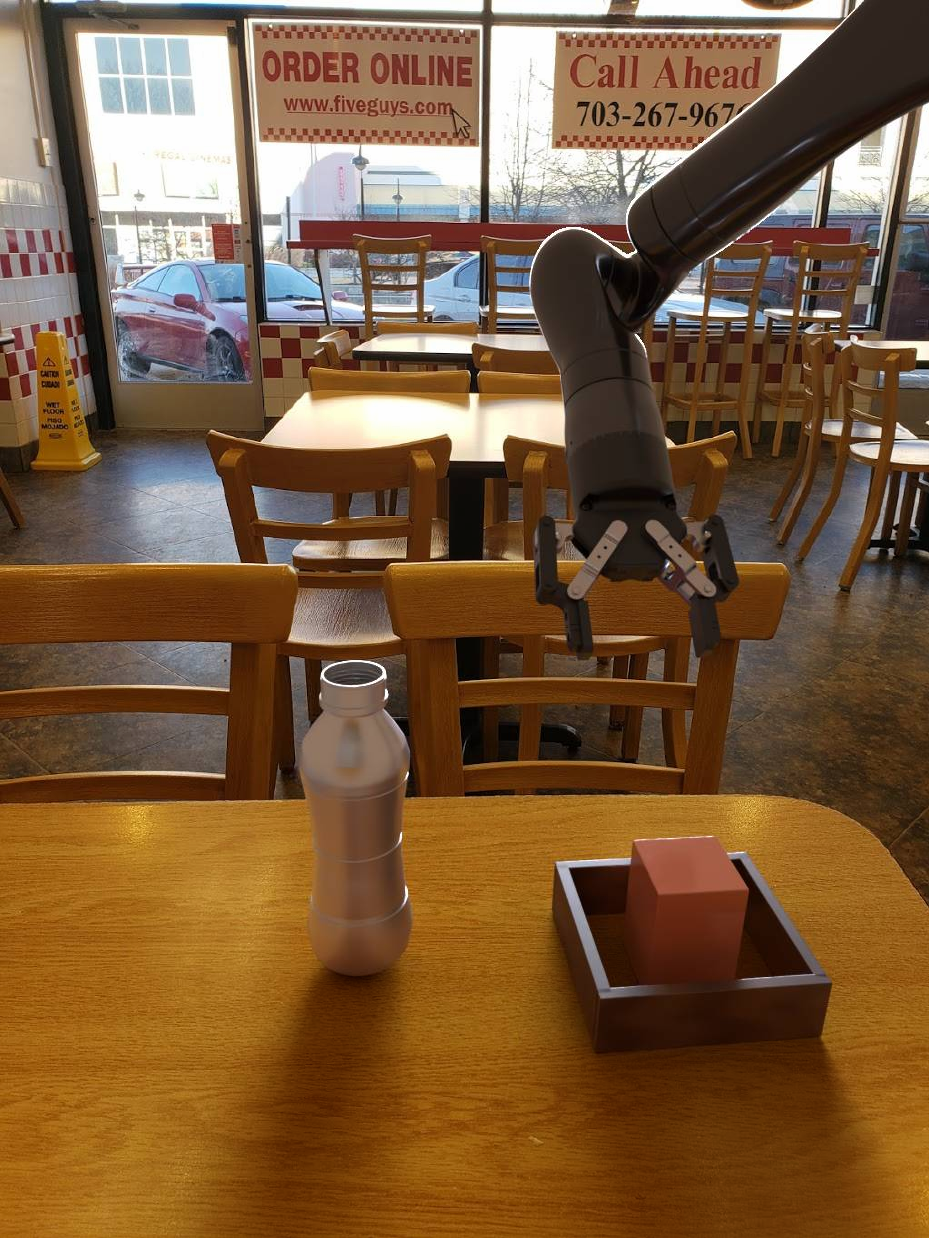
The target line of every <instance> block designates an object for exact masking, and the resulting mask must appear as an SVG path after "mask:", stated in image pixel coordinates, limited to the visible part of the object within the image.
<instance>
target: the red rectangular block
mask: <svg viewBox="0 0 929 1238" xmlns="http://www.w3.org/2000/svg"><path fill="white" fill-rule="evenodd" d="M727 853H728V852H726V850H725V849H724V847H723V845H722V843H721V842H720V841H719V839H718V837H717V836H715V835H708V836H689V837H688V836H687V837H669V838H668V837H667V838H649V839H648V838H647V839H646V838H645V839H632V844H631V853H630V858H631V862H630V872H629V882H628V891H627V901H626V911H625V913H624V920H623V930H622V931H623V932H622V940H621V941H622V943H623V947H624V950H625V951H626V954H627V957H628V959H629V962H630V964H631V967H632V969H633V972H634V975H635V977H636V979H637V981H638V986H648V985H663V984H678V983H693V982H707V981H722V980H736V974H737V968H738V962H739V956H740V949H741V942H742V937H743V932H744V931H743V930H744V919H745V913H746V906H747V900H748V894H749V889H748V887H747V886H746V884H745V883H744V881H743V879H742V878H741V876H740V874H739V873H738V871H737V870H736V868H735V866H734V865H733V863H732V862H731V860H730V858H729V857H728V855H727Z"/></svg>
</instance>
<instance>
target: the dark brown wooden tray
mask: <svg viewBox="0 0 929 1238" xmlns="http://www.w3.org/2000/svg"><path fill="white" fill-rule="evenodd" d="M726 853H727V855H728V857H729V858H730V860H731V862H732V863H733V865H734V866H735V868H736V870H737V871H738V873H739V874H740V876H741V878H742V879H743V881H744V883H745V884H746V886H747V887H748V889H749V894H748V900H747V906H746V913H745V919H744V925H743V927H744V928H745V930H746V931H747V933H748V935H749V936H750V938H751V939H752V941H753V943H754V945H755V947H756V949H757V950H758V951H759V953H760V956H761V957H762V959H763V960H764V962H765V964H766V966H767V967H768V969H769V971H770V972H771V974H772V976H769V977H754V978H753V977H752V978H740V979H739V978H737V979H735V980H722V981H707V982H693V983H678V984H663V985H648V986H640V985H635V986H633V985H632V986H620V987H611V985H610V982H609V980H608V977H607V974H606V971H605V967H604V966H603V963H602V960H601V957H600V954H599V950H598V948H597V944H596V943H595V939H594V936H593V934H592V931H591V928H590V925H589V923H588V920H587V916H588V915H590V916H591V915H606V914H607V915H608V914H623V913H624V914H625V911H626V901H627V891H628V882H629V872H630V862H631V857H627V858H608V859H607V858H605V859H587V860H568V861H555V862H554V870H553V882H552V883H553V884H552V897H551V898H552V900H551V912H552V916H553V918H554V919H553V920H554V923H555V925H556V929H557V932H558V935H559V938H560V942H561V945H562V949H563V951H564V952H563V953H564V956H565V958H566V961H567V965H568V968H569V971H570V975H571V978H572V981H573V985H574V988H575V991H576V995H577V998H578V1001H579V1004H580V1008H581V1011H582V1014H583V1017H584V1021H585V1025H586V1027H587V1031H588V1034H589V1037H590V1040H591V1044H592V1047H593V1051H594V1053H595V1054H604V1053H619V1052H633V1051H644V1050H645V1051H646V1050H655V1049H656V1050H658V1049H671V1048H672V1049H673V1048H683V1047H685V1048H686V1047H698V1046H699V1047H700V1046H709V1045H710V1046H713V1045H724V1044H738V1043H751V1042H752V1043H753V1042H764V1041H765V1042H766V1041H777V1040H792V1039H805V1038H813V1037H814V1038H817V1037H822V1036H823V1035H822V1034H823V1030H824V1025H825V1021H826V1016H827V1011H828V1006H829V1001H830V997H831V991H832V987H833V981H832V980H831V979H830V977H829V976H828V974H827V973H826V971H825V970H824V969H823V966H822V965H821V964H820V962H819V961H818V959H817V958H816V957H815V954H814V953H813V951H812V950H811V949H810V947H809V945H808V944H807V942H806V941H805V939H804V938H803V936H802V934H801V933H800V932H799V930H798V929H797V927H796V925H795V923H794V922H793V921H792V920H791V919H792V918H790V916H789V914H788V913H787V912H786V910H785V908H784V907H783V906H782V904H781V902H780V901H779V899H778V897H777V896H776V895H775V893H774V892H773V891H772V889H771V887H770V886H769V884H768V883H767V881H766V880H765V878H764V876H763V875H762V873H761V872H760V871H759V869H758V867H757V866H756V864H755V863H754V860H753V859H752V858H751V856H750V854H749V853H748V852H747V851H741V852H740V851H739V852H726Z"/></svg>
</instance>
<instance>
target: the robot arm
mask: <svg viewBox="0 0 929 1238" xmlns="http://www.w3.org/2000/svg"><path fill="white" fill-rule="evenodd" d="M927 104H929V0H862V1H861V2H860V3H859V4H858V5H857V6H856V7H855V8H854V9H853V10H852V11H851V13H849V15H848V16H847V17H846V18H845V19H844V20H843V21H842V22H841V23H840V24H839V25H837V27H836V28H835V29H834V30H833V31H831V33H829V35H828V36H827V37H825V39H824V40H822V42H820V43H819V44H818V45H817V46H816V47H815V48H814V49H813V50H812V51H811V52H810V53H809V54H808V55H807V56H806V57H805V58H804V59H803V60H802V61H800V62H799V63H798V64H797V65H796V66H795V67H794V68H793V69H792V70H791V71H790V72H789V73H787V74H786V75H785V76H784V77H783V78H782V79H780V81H778V82H777V83H776V84H774V85H773V87H771V88H770V89H769V90H768V91H767V92H765V93H763V95H761V96H760V97H759V98H758V99H757V100H755V101H754V102H753V103H751V105H749V106H748V107H746V108H745V109H744V110H742V112H740V113H739V114H737V115H736V116H735V117H734V118H733V119H731V120H730V121H729V122H728V123H726V124H725V125H723V126H722V127H721V128H720V129H718V130H717V131H716V132H714V133H713V134H712V135H711V136H710V137H708V138H707V139H706V140H704V141H703V142H702V143H700V144H699V145H698V146H697V147H695V148H694V149H693V150H691V151H690V152H689V153H688V154H686V155H685V156H684V157H682V159H679V161H678V162H676V163H675V164H674V165H673V166H671V167H670V168H669V169H668V170H667V171H665V172H664V173H662V174H661V175H660V176H659V177H658V178H656V179H655V180H654V181H653V182H652V183H650V184H648V186H647V187H645V188H644V189H642V191H641V192H640V193H639V194H637V195H636V197H635V198H634V199H633V200H632V201H631V203H630V205H629V207H628V209H627V213H626V219H625V221H626V230H627V234H628V237H629V240H630V242H631V244H632V246H633V248H634V249H635V251H634V252H631V253H629V254H626V253H625V252H622V250H620V249H619V248H617V247H615V246H613V245H612V244H611V243H609V242H608V241H606V240H604V239H603V238H601V237H600V236H599V235H597V234H596V233H594V232H592V231H591V230H588V229H584V228H581V227H566V228H562V229H559V230H557V231H555V232H554V233H552V234H551V235H550V236H548V237H547V238H546V239H545V240H544V241H543V242H542V243H541V245H540V247H539V249H538V250H537V252H536V254H535V256H534V258H533V260H532V264H531V269H530V275H529V296H530V301H531V305H532V310H533V312H534V316H535V318H536V321H537V324H538V326H539V328H540V331H541V333H542V335H543V338H544V340H545V343H546V345H547V348H548V350H549V353H550V354H551V357H552V359H553V361H554V363H555V364H556V366H557V369H558V372H559V377H560V380H559V381H560V389H561V397H562V405H563V412H564V431H563V435H564V447H565V448H564V458H565V462H566V464H567V470H568V479H569V486H570V487H569V488H570V495H571V504H572V510H573V519H574V520H573V523H566V522H565V523H563V522H556V521H555V518H554V517H552V516H551V515H542V516H540V518H539V519H538V522H537V524H536V528H535V530H534V533H533V536H532V544H533V547H532V548H533V573H534V576H533V577H534V600H535V601H536V603H537V604H539V605H541V606H548V605H551V606H555V607H557V608H558V609H560V610H561V612H562V614H563V623H564V631H565V638H566V639H565V640H566V647H567V648H568V651H569V652H570V653H576V659H577V661H589V660H590V658H591V657H592V655H593V653H594V639H593V631H592V622H591V615H590V608H589V607H590V606H589V600H585V598H586V597H587V595H588V594H589V593H590V591H591V590H592V589H593V587H594V585H595V584H596V582H597V581H598V580H599V578H600V577H601V576H602V577H603V578H605V579H608V580H609V582H610V583H622V582H626V581H629V580H632V581H636V582H641V583H643V582H644V583H646V582H647V583H648V582H653V581H654V579H657V580H658V581H659V582H660V583H661V584H662V585H663V586H664V588H666V589H667V590H668V591H670V592H675V593H676V594H677V595H678V596H679V597H680V598H681V599H682V600H683V601H684V602H685V603H686V604H687V605H688V606H689V607H690V609H689V610H688V611H687V613H688V614H687V615H688V621H689V626H690V627H689V628H690V632H691V633H690V634H691V638H692V643H693V650H694V655H695V657H696V659H707V658H709V657H710V656H711V654H713V653H714V651H715V649H716V647H717V646H718V645H719V643H720V642H721V638H722V632H721V629H720V622H719V616H718V611H717V610H718V609H717V605H716V604H717V603H724V602H726V601H727V599H728V598H729V597H730V595H731V594H732V593H733V592H734V591H735V590H736V589H737V588H738V586H739V585H740V578H739V575H738V571H737V567H736V564H735V559H734V555H733V551H732V548H731V544H730V540H729V536H728V533H727V529H726V525H725V521H724V519H723V517H721V515H718V514H710V515H709V516H708V518H707V519H706V520H705V521H691V522H685V520H684V519H683V517H682V516H681V515H680V513H679V511H678V507H677V497H676V496H677V495H676V490H675V485H674V479H673V473H672V468H671V463H670V462H671V461H670V456H669V450H668V444H667V440H666V439H667V438H666V433H665V428H664V427H665V426H664V422H663V418H662V415H661V412H660V409H659V406H658V403H657V401H656V395H655V391H654V384H653V378H652V373H651V367H650V361H649V357H648V356H649V355H648V354H647V353H648V352H647V350H646V348H645V345H644V343H643V342H642V340H641V339H640V337H639V336H638V335H637V334H636V333H638V332H639V331H640V330H641V329H642V328H643V327H644V326H646V325H647V323H648V322H650V320H651V319H652V318H653V316H654V315H655V314H656V313H657V312H658V310H659V309H660V308H661V307H662V306H663V305H664V303H665V302H666V301H667V300H668V299H669V298H670V297H671V295H672V294H674V292H675V291H676V290H677V289H678V287H680V285H681V284H682V283H683V281H684V280H685V279H686V278H687V277H688V276H689V274H690V273H691V272H692V271H693V270H694V269H696V268H697V267H698V266H700V265H702V264H703V263H704V262H706V261H707V260H709V259H711V258H712V257H713V256H715V255H716V254H718V253H719V252H721V251H723V250H724V249H725V248H727V247H728V246H730V245H731V244H732V243H734V242H735V241H737V240H738V239H740V238H741V237H742V236H744V235H745V234H747V233H749V232H750V230H752V229H754V228H755V227H756V226H757V225H759V224H760V223H761V222H762V221H764V220H765V219H766V218H767V217H769V216H770V215H771V214H772V213H774V212H775V211H777V209H778V208H780V207H781V206H782V205H784V203H786V202H787V201H788V200H789V199H790V198H791V197H792V196H793V195H794V194H796V193H797V192H798V191H799V190H801V188H802V187H804V186H805V185H806V184H807V183H808V182H809V181H811V179H813V178H814V177H815V176H816V175H817V174H818V173H820V172H821V171H822V170H824V169H825V168H826V167H828V165H830V164H831V163H832V162H833V161H835V160H836V159H838V158H839V157H840V156H842V155H843V154H845V153H846V152H848V150H850V149H851V148H853V147H854V146H856V145H857V144H859V143H860V142H862V141H863V140H865V139H867V138H868V137H869V136H871V135H872V134H874V133H875V132H877V131H879V130H880V129H882V128H884V127H886V126H887V125H889V124H891V123H893V122H894V121H896V120H898V119H900V118H902V117H903V116H906V115H908V114H910V113H911V112H913V111H916V110H917V109H920V108H921V107H923V106H925V105H927ZM684 540H685V541H688V542H690V543H691V545H692V547H693V549H694V551H695V552H696V553H700V555H701V559H702V563H703V567H704V571H705V574H704V573H703V572H702V571H701V570H700V569H699V568H698V565H697V562H696V560H695V559H694V557H692V555H691V554H690V553H689V552H687V551H686V550H685V548H683V547H682V546H681V545H682V544H683V542H684ZM567 542H570V543H571V544H572V546H573V547H574V548H575V550H576V551H578V552H579V554H580V555H582V557H583V558H584V559H585V561H584V563H583V565H582V566H581V567H580V569H579V571H578V572H577V574H576V575H575V577H574V578H573V579H572V581H571V582H570V584H569V583H565V582H562V581H559V573H558V571H559V570H558V554H560V553H561V552H562V551H563V549H564V546H565V543H567ZM670 563H671V565H672V566H673V567H674V568H673V567H672V566H671V565H670Z"/></svg>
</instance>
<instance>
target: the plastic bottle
mask: <svg viewBox="0 0 929 1238" xmlns="http://www.w3.org/2000/svg"><path fill="white" fill-rule="evenodd" d="M318 703H319V707H320V708H321V709H322V710H323V711H322V713H320V715H319V716H318V717H317V719H316V720H315V721H314V722H313V723H312V724H311V727H310V728H309V730H308V731H307V733H306V734H305V736H304V737H303V738H302V740H301V744H300V748H299V752H298V756H297V763H298V770H299V775H300V779H301V783H302V788H303V792H304V797H305V802H306V807H307V810H308V815H309V826H310V834H311V839H312V840H311V843H312V850H313V863H312V864H313V865H312V884H311V885H312V887H311V895H310V899H309V904H308V913H307V921H306V929H307V935H308V939H309V942H310V946H311V950H312V951H313V953H314V956H315V957H316V958H317V959H318V960H319V962H321V963H322V964H323V965H324V966H325V967H327V968H328V969H329V970H331V971H332V972H335V973H338V974H339V975H344V976H350V977H364V976H369V975H374V974H378V973H380V972H383V971H385V970H386V969H388V968H390V967H391V966H392V965H394V964H395V963H396V962H397V961H398V960H399V959H400V957H402V955H403V954H404V953H405V952H406V950H407V948H408V946H409V943H410V939H411V935H412V934H411V933H412V930H413V924H414V916H413V915H414V914H413V910H412V904H411V899H410V895H409V891H408V888H407V885H406V877H405V875H406V874H405V867H404V866H405V865H404V857H403V850H402V844H403V843H402V841H403V840H402V839H403V836H402V835H403V822H404V821H403V818H404V805H405V798H406V792H407V786H408V779H409V770H410V761H411V751H410V747H409V744H408V741H407V738H406V736H405V733H404V732H403V730H402V729H401V728H400V726H399V725H398V724H397V723H396V721H395V720H394V718H392V716H391V715H390V714H389V713H388V711H386V710H385V709H384V708H385V707H386V706H387V704H388V703H389V693H388V690H387V673H386V668H384V667H383V666H382V665H380V664H378V663H376V662H372V661H366V660H346V661H339V662H336V663H332V664H330V665H328V666H327V667H325V668H324V669H322V671H321V674H320V693H319V696H318Z"/></svg>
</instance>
